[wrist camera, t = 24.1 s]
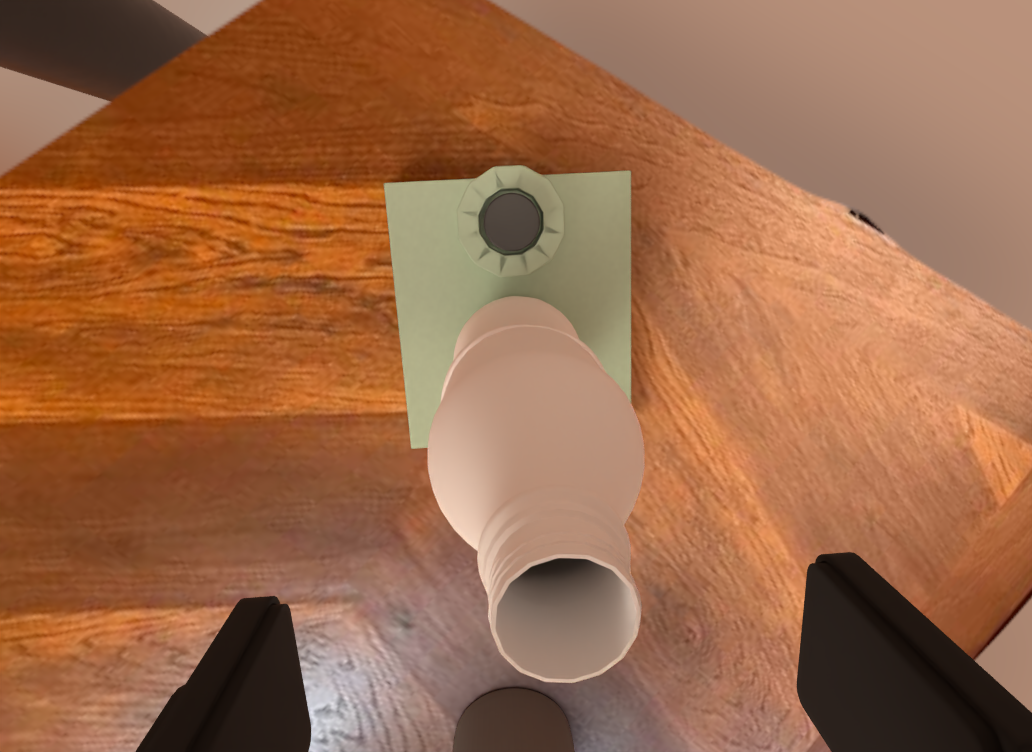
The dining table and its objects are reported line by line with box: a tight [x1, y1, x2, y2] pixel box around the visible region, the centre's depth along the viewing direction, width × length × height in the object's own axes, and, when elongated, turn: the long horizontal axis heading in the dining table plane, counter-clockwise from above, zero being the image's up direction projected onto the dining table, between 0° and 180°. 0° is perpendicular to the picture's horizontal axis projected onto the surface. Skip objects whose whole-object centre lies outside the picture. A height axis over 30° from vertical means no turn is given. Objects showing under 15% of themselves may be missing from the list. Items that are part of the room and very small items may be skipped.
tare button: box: [484, 193, 540, 251], centre depth 32 cm, size 3×3×2 cm
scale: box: [384, 165, 631, 449], centre depth 35 cm, size 16×14×4 cm
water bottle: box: [428, 296, 644, 683], centre depth 23 cm, size 7×7×25 cm
